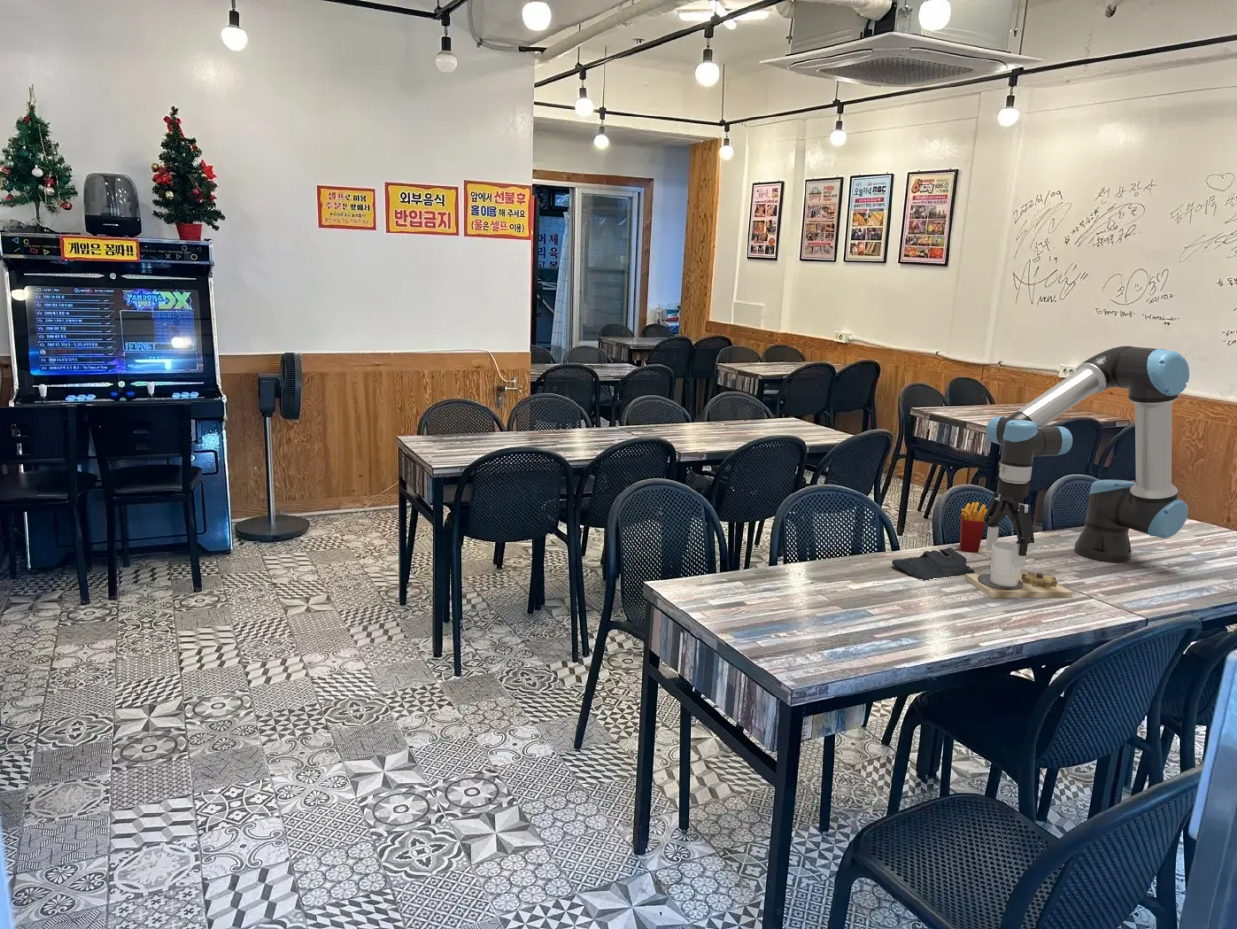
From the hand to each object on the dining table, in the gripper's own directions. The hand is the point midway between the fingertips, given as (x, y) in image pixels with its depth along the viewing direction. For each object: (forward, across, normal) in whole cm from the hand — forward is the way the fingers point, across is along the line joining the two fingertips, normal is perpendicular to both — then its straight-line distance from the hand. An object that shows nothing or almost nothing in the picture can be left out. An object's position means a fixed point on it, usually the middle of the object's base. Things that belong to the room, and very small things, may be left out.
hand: (1004, 558), depth 230 cm
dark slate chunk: (+9, -16, -12) cm, 22 cm away
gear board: (+8, 0, +5) cm, 9 cm away
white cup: (+6, +2, 0) cm, 7 cm away
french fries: (+9, -33, +10) cm, 35 cm away
